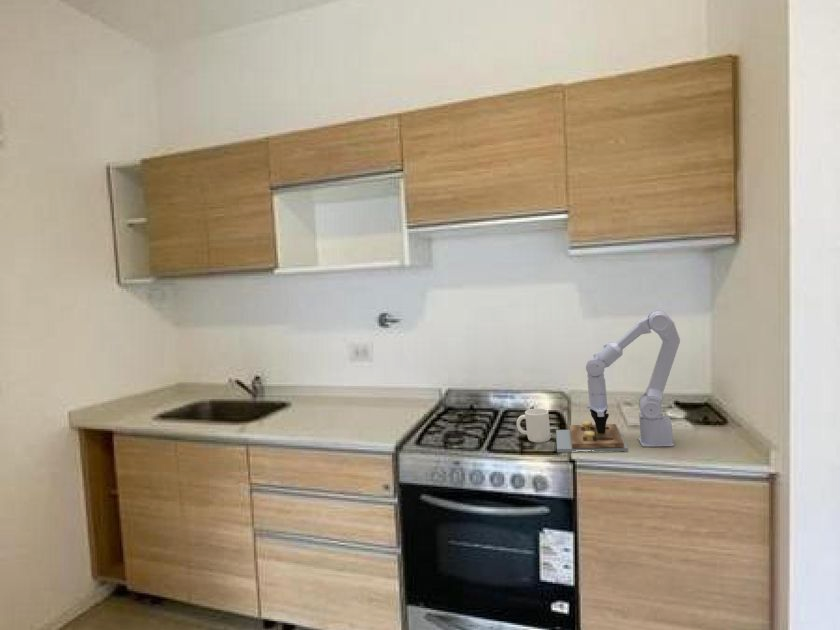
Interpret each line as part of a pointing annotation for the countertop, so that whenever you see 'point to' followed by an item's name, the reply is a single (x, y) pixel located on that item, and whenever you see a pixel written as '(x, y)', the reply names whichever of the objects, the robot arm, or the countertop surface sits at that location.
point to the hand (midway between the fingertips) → (600, 431)
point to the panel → (596, 437)
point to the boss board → (568, 443)
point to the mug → (536, 425)
